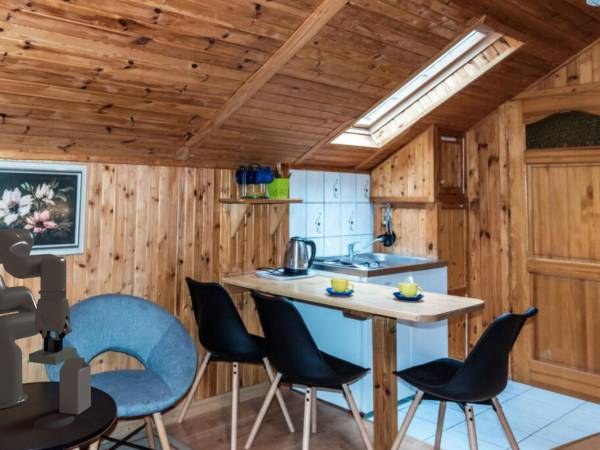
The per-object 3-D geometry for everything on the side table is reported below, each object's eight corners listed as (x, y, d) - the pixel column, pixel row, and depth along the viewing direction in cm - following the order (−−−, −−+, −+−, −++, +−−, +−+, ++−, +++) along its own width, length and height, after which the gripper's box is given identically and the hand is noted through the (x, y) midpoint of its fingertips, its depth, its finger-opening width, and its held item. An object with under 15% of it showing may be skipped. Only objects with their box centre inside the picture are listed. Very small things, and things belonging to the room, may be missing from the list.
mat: (24, 429, 154) (24, 427, 154) (51, 413, 166) (51, 411, 166) (57, 433, 151) (57, 431, 151) (82, 417, 163) (82, 415, 163)
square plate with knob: (28, 362, 154) (28, 341, 154) (51, 352, 164) (51, 333, 163) (55, 365, 152) (55, 344, 152) (76, 355, 161) (76, 336, 161)
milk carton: (77, 416, 164) (77, 360, 163) (59, 414, 165) (59, 359, 165) (90, 407, 171) (90, 354, 170) (73, 405, 172) (72, 353, 172)
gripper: (22, 295, 155) (23, 351, 156) (67, 298, 151) (67, 356, 152) (40, 291, 162) (40, 345, 163) (83, 294, 159) (82, 349, 160)
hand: (53, 350), depth 158 cm, fingers closed on square plate with knob, 3 cm apart
